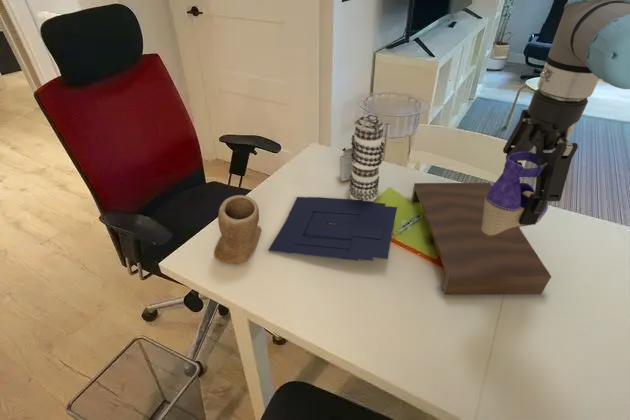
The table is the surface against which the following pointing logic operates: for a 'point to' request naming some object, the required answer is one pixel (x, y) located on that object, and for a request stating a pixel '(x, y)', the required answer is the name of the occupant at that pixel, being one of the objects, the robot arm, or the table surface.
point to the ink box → (346, 165)
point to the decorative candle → (366, 158)
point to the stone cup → (237, 229)
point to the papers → (337, 229)
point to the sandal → (509, 196)
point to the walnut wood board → (477, 244)
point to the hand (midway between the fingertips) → (514, 206)
